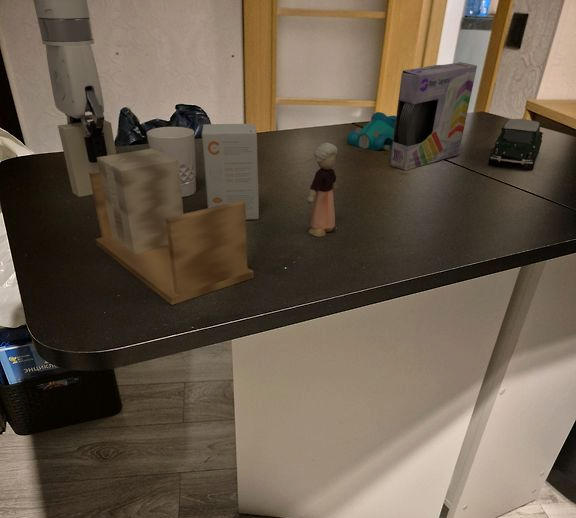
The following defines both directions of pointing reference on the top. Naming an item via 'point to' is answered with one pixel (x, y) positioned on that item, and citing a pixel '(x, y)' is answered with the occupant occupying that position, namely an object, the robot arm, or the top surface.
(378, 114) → the toy car
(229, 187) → the small box
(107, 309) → the top surface
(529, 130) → the miniature car
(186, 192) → the white cup
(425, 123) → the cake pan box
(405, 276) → the top surface
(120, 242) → the book rack
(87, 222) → the top surface
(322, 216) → the grandmother figurine
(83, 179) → the cream book
